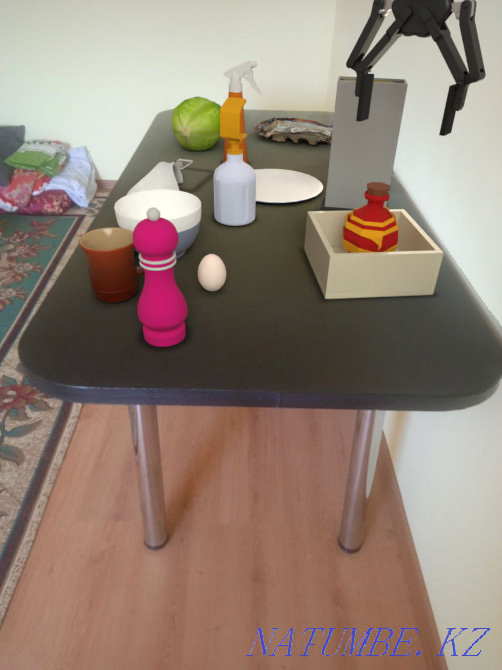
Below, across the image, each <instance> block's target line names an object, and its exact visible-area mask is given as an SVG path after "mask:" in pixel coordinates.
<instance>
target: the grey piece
mask: <svg viewBox="0 0 502 670" xmlns="http://www.w3.org/2000/svg"><path fill="white" fill-rule="evenodd" d="M275 127H277V128H275ZM290 127H295V128H292V129H289V128H290ZM288 129H289V131H285V130H288ZM307 129H309V131H307ZM253 130H257V131H258V135H259V136H262V137H264V139H265V140H268V139H270V138H271V139H270V141H274V142H277V143H281V142H282V143H283V142H284V143H286V141H288V140H291V141H292V142H293V143H294V144H299V142H307V143H308V144H309V146H310V145H311V146H317V144H318V143H319V144H320V143H326V144H327V145H329V144H330V145H331V142H330V141H331V140H332V130H333V124H332V125H328V124H324V123H321V122H319V121H318V120H317V121H316V120H311V119H305V118H301V117H300V118H299V117H271V118H269V119H265V120H263V121H261V122H259V124H255V125H253ZM271 130H272V131H271ZM323 130H324V131H325V132H322V131H323ZM270 131H271V132H270ZM284 131H285V132H284ZM306 131H307V132H306ZM285 137H287V138H285ZM318 140H320V141H318ZM322 140H326V141H322ZM296 141H297V142H296ZM327 141H328V142H327Z"/></svg>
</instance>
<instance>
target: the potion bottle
mask: <svg viewBox="0 0 502 670" xmlns="http://www.w3.org/2000/svg"><path fill="white" fill-rule="evenodd" d="M390 190H391V184H390V185H388V184H385V183H381V182H371V183H367V191H365V193H364V195H365V199H367V200H368V203H367V204H366V205H363V206H364V207H363V206H362V207H360V208H357V209H354V210H352V211H351V213H348V214H346V216H345V225H344V226H343V247H344V249H346V250H347V251H348V253H367V252H394V251H395V249H396V247H397V245H398V230H399V229H398V223H397V219H396V216H395V215H394V214H393V213H392V212H390V210H391V209H389V206H388V207H386V206H384V202H385V201H387V202H388V201H389V200H390ZM388 192H389V193H388ZM383 206H384V207H386V208H387V209H386V208H384V207H383Z"/></svg>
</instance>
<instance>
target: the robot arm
mask: <svg viewBox="0 0 502 670" xmlns="http://www.w3.org/2000/svg"><path fill="white" fill-rule="evenodd" d="M477 3H478V2H477V0H463V1H455V0H373V1H372V6H371V11H370V15H369V17H368V19H367V21H366V23H365V25H364V27H363V29H362V31H361V32H360V35H359V36H358V39H357V41H356V42H355V44H354V46H353V48H352V50H351V53H350V54H349V55H348V58H347V60H346V62H345V67H346V68H347V69H351V70H352V71H354V72H355V74H356V76H355V77H356V86H355V97H359V101H358V109H357V117H356V121H359V122H361V121H364V120H367V119H369V111H370V104H371V96H372V89H373V81H374V78H375V74H374V73H371V72H372V69H373V68H374V67H375V66H376V65H377V63H378V62H379V61H380V60H381V59H382V58H383V57H384V56H385V55H386V54H387V52H388V51H389V50H390V49H391V48H392V46H394V44H395V43H396V42H397V41H398V39H400V38H401V37H418V38H422V39H423V38H431V39H432V41H433V42H435V44H436V46H437V48H438V50H439V52H440V54H441V56H442V58H443V60H444V62H445V64H446V66H447V68H448V70H449V72H450V74H451V76H452V78H453V80H454V82H455V83H454V84H451V85H449V87H448V91H447V95H446V101H445V105H444V110H443V114H442V120H441V125H440V128H439V133H438V136H441V137H445V136H447V135H450V134H451V133H452V130H453V126H454V122H455V117H456V113H457V112H459V111H462V110H463V108H464V107H465V103H466V98H467V96H468V95H467V94H468V90H469V86H470V85H471V84H474V83H478V82H481V81H483V80H484V79H485V78H486V76H487V75H486V68H485V63H484V59H483V53H482V50H481V44H480V39H479V35H478V34H479V33H478V29H477V24H476V12H477ZM390 12H392V14H393V18H394V20H393V22H392V23H391V24H390V25H389V26H388V28H387V29H386V31H385V33H384V34H383V36H382V37H380V39H379V40H378V41H377V42H376V44H375V45H374V46H373V47H372V48H371V50H370V51H369V49H370V47H371V46H372V43H373V42H374V40H375V38H376V37H377V35H378V32H379V31H380V28H381V27H382V25H383V23H384V21H385V18H386V17H387V16H389V14H390ZM453 13H454V16H455V19H456V20H457V21H458V26H459V31H460V37H461V40H462V41H461V42H462V45H463V50H464V55H465V60H466V64H465V62H464V60H463V58H462V56H461V53H460V51H459V49H458V48H457V46H456V43H455V41H454V40H453V38H452V37H453V36H452V32H451V30H450V29H449V26H448V24H447V21H448V19H449V18H451V15H453ZM466 65H467V66H466Z"/></svg>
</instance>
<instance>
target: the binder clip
mask: <svg viewBox="0 0 502 670" xmlns="http://www.w3.org/2000/svg"><path fill="white" fill-rule="evenodd" d="M173 162H175V163H177V165H178V166H179V168H180V170H181V173H182V174H183V172H182V171H183V170H184V169H185V168H187V167H188V166H189V165H191V164H192V163H193V162H194V160H192V159H184V158H179V159H177V160H174V161H173ZM184 162H188V163H187V164H186V165H184V164H183V163H184ZM182 177H184V176H183V175H182Z"/></svg>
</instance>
